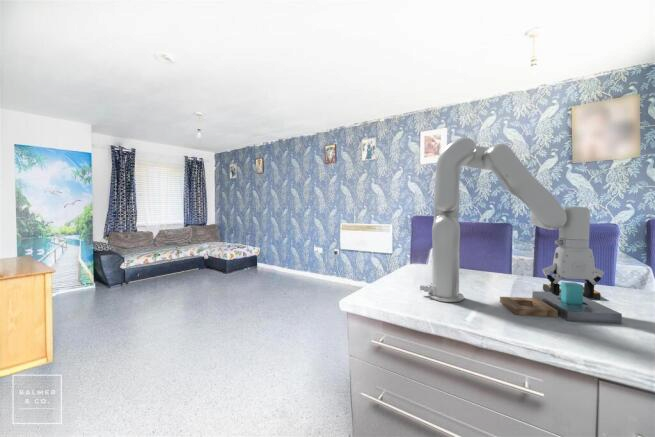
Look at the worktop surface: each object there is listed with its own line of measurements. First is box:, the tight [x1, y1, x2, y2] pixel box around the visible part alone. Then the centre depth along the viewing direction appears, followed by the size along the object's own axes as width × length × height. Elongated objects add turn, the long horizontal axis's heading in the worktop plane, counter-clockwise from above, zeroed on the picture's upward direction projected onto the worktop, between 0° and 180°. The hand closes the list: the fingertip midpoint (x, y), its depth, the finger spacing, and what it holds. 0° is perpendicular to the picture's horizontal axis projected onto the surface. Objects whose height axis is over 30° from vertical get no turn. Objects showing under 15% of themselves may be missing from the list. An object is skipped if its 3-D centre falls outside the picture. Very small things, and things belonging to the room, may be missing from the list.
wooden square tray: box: [499, 296, 559, 318], centre depth 96 cm, size 12×12×2 cm
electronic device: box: [542, 283, 602, 300], centre depth 110 cm, size 8×16×3 cm, turn 69°
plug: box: [560, 281, 584, 305], centre depth 94 cm, size 4×4×9 cm
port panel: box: [531, 290, 623, 325], centre depth 94 cm, size 14×20×3 cm
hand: (571, 295), depth 94 cm, fingers open, 9 cm apart
